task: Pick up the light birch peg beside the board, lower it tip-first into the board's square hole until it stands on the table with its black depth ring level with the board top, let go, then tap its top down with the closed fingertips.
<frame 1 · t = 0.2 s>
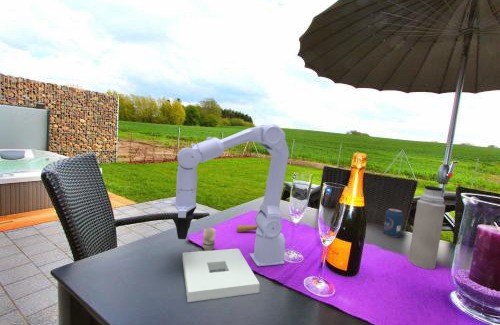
hand: (184, 233, 73), 10 cm above the table, tool pointing down, fingers open, 7 cm apart
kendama: (257, 233, 104), on the table
birch peg: (208, 249, 85), on the table
thermos bottle: (421, 263, 88), on the table
hole board: (217, 274, 70), on the table
soda can: (391, 235, 115), on the table
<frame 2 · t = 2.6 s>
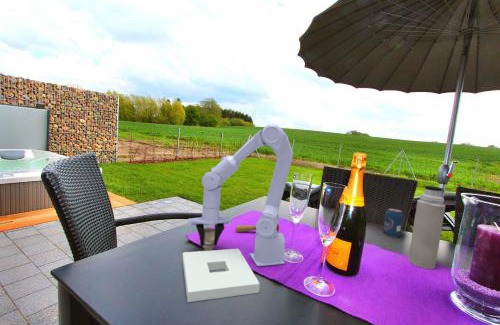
hand: (208, 244, 85), 2 cm above the table, tool pointing down, fingers closed on birch peg, 4 cm apart
birch peg: (208, 249, 85), on the table, touching gripper
when the fingers open (3 cm above the table, at t = 6.6 s): birch peg drops 2 cm, resting in hole board.
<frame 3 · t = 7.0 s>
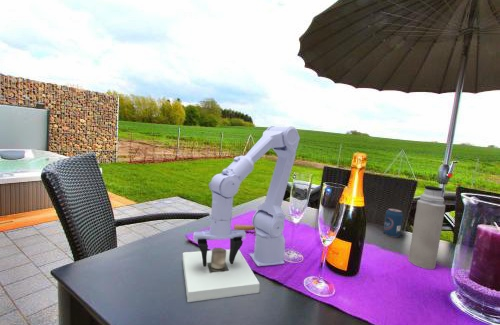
hand: (218, 263, 70), 3 cm above the table, tool pointing down, fingers open, 7 cm apart
birch peg: (217, 274, 70), resting in hole board
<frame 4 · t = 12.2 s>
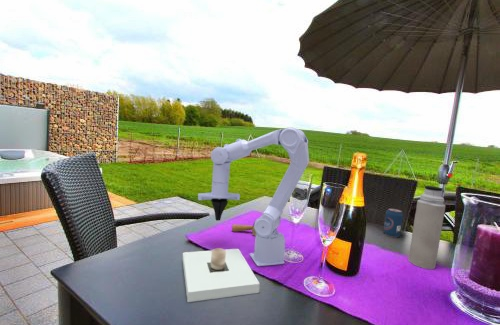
hand: (217, 219, 87), 10 cm above the table, tool pointing down, fingers closed
at the end: birch peg 0.1 cm off-centre on the hole board, point 0.0 cm above the hole board's base; birch peg tilted 0°; the gripper is holding nothing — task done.
